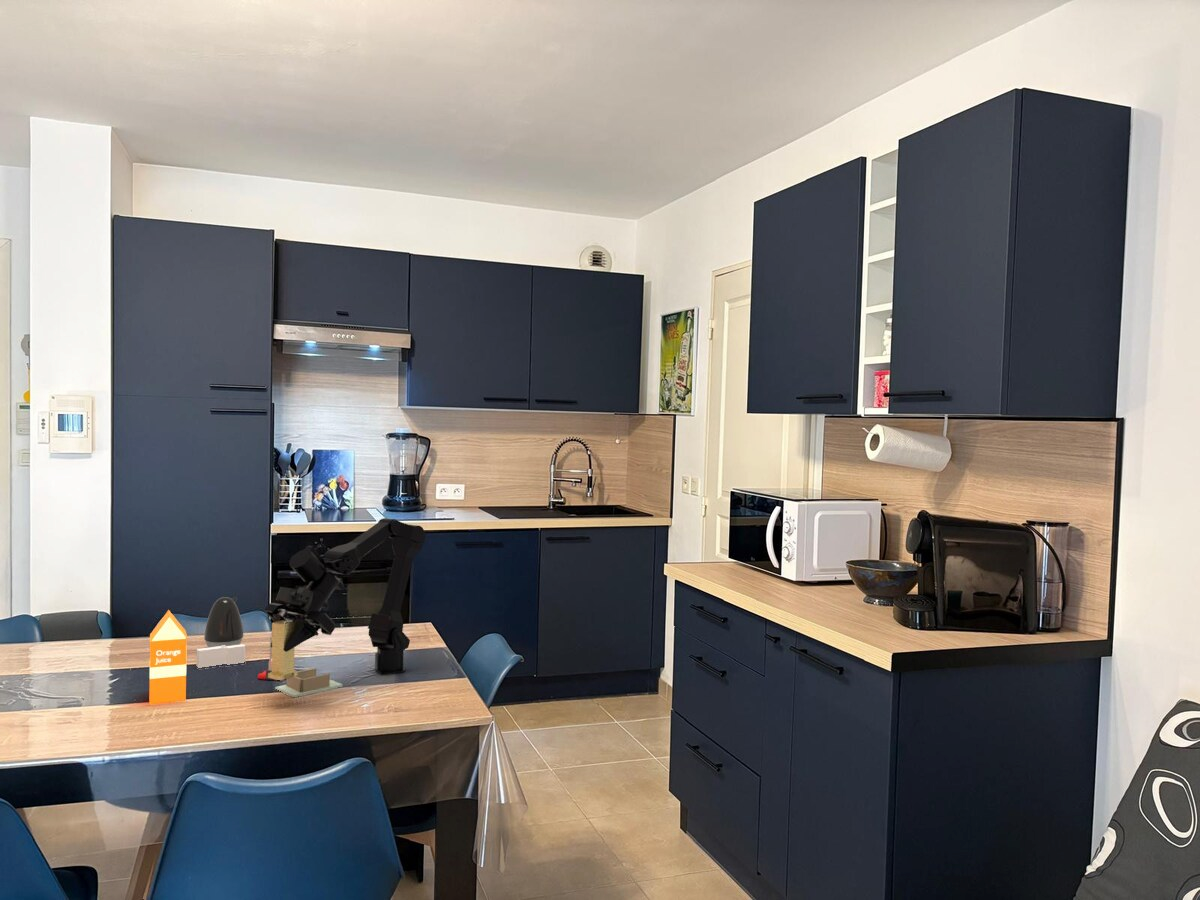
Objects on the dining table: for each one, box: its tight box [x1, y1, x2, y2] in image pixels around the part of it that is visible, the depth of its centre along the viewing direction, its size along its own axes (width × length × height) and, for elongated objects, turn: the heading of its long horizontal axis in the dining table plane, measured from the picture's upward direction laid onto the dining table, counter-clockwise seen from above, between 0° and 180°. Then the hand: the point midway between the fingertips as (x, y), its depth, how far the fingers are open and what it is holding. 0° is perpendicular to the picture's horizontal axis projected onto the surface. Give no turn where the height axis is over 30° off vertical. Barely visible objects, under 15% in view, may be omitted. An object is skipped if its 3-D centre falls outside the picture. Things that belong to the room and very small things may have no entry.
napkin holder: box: [195, 643, 247, 669], centre depth 229 cm, size 15×11×6 cm
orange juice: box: [148, 609, 188, 706], centre depth 202 cm, size 8×9×20 cm
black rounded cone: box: [203, 596, 244, 648], centre depth 245 cm, size 10×10×15 cm
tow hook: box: [257, 636, 285, 682], centre depth 222 cm, size 8×13×9 cm
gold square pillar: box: [268, 620, 299, 681], centre depth 198 cm, size 5×4×12 cm
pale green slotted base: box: [274, 667, 343, 698], centre depth 212 cm, size 13×9×4 cm
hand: (278, 649), depth 197 cm, fingers closed on gold square pillar, 4 cm apart
